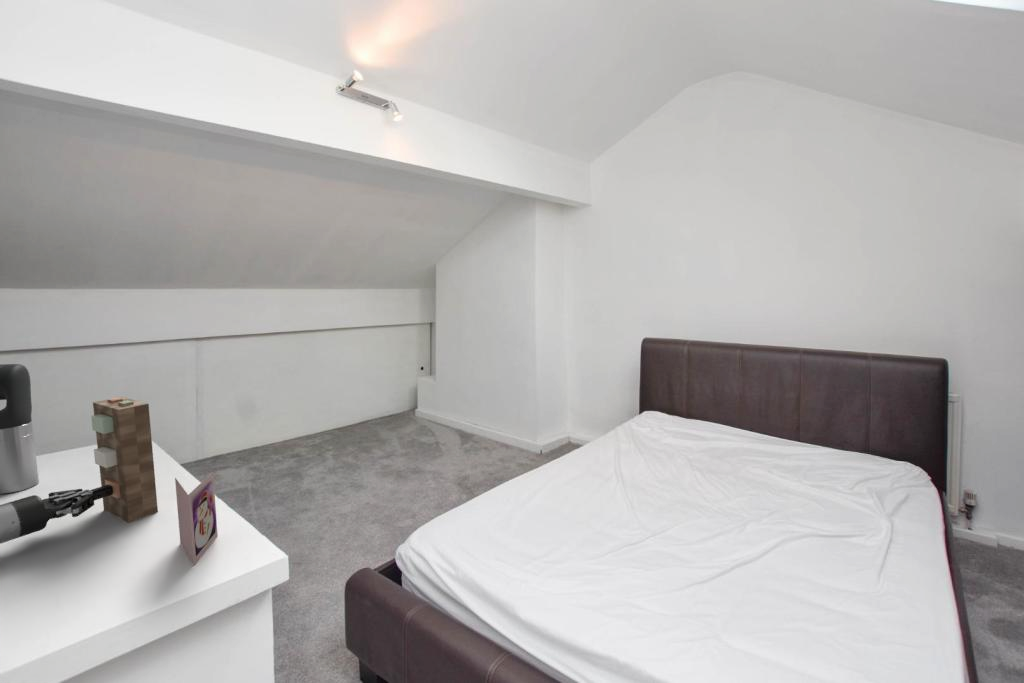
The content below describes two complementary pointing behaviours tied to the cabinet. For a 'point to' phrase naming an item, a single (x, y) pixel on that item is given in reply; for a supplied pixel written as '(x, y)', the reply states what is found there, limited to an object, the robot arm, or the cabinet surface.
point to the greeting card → (197, 518)
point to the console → (129, 458)
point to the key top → (102, 423)
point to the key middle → (105, 457)
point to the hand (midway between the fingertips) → (111, 489)
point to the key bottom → (114, 487)
